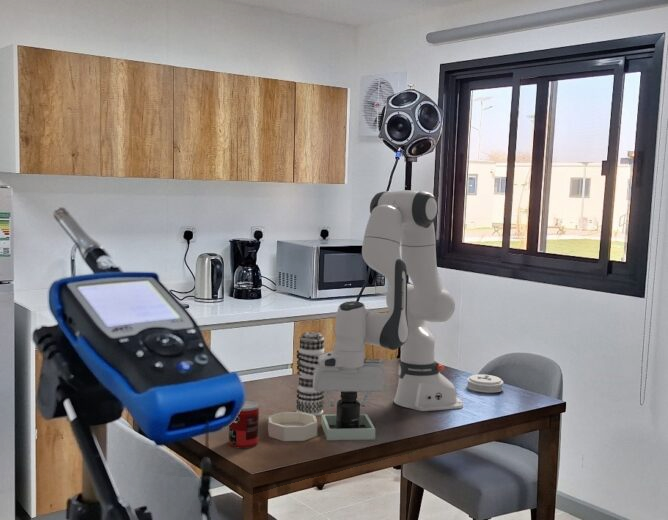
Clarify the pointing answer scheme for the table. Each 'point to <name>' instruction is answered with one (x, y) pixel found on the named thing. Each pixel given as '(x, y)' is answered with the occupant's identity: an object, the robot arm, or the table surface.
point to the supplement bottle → (348, 411)
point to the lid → (485, 383)
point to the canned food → (245, 426)
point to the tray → (348, 433)
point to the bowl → (292, 426)
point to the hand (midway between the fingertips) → (347, 406)
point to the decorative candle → (309, 373)
